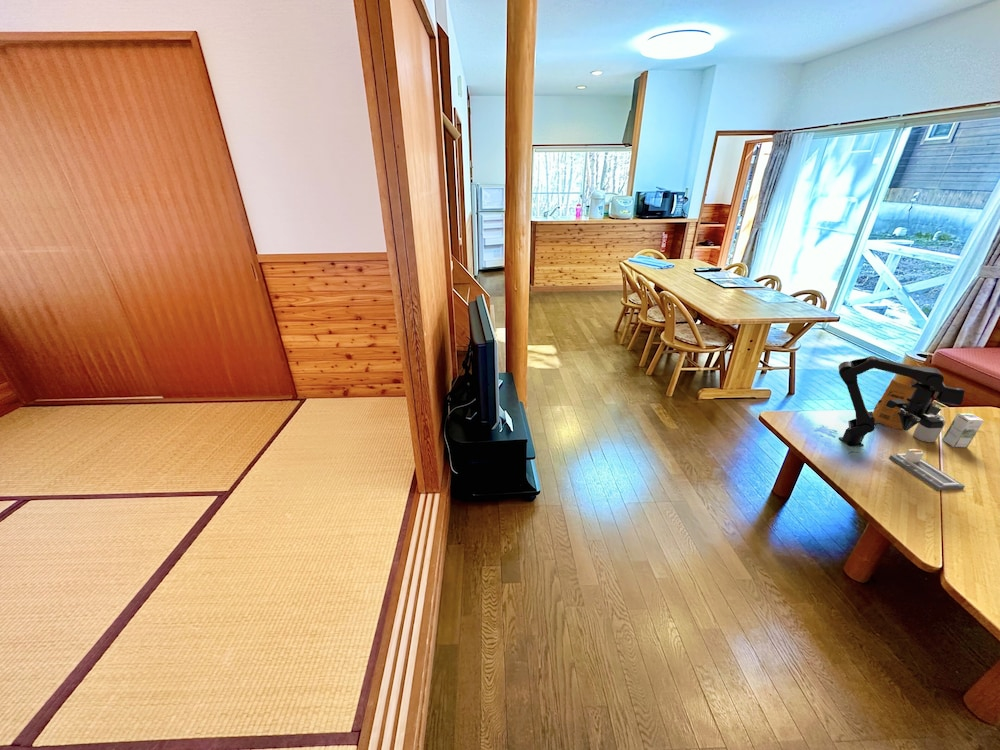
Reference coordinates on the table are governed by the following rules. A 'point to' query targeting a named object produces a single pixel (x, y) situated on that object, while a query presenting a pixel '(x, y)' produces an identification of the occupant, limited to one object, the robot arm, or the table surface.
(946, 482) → the fader console
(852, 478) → the table surface
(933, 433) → the can
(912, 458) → the fader knob
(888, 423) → the coffee package
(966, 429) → the syrup box
